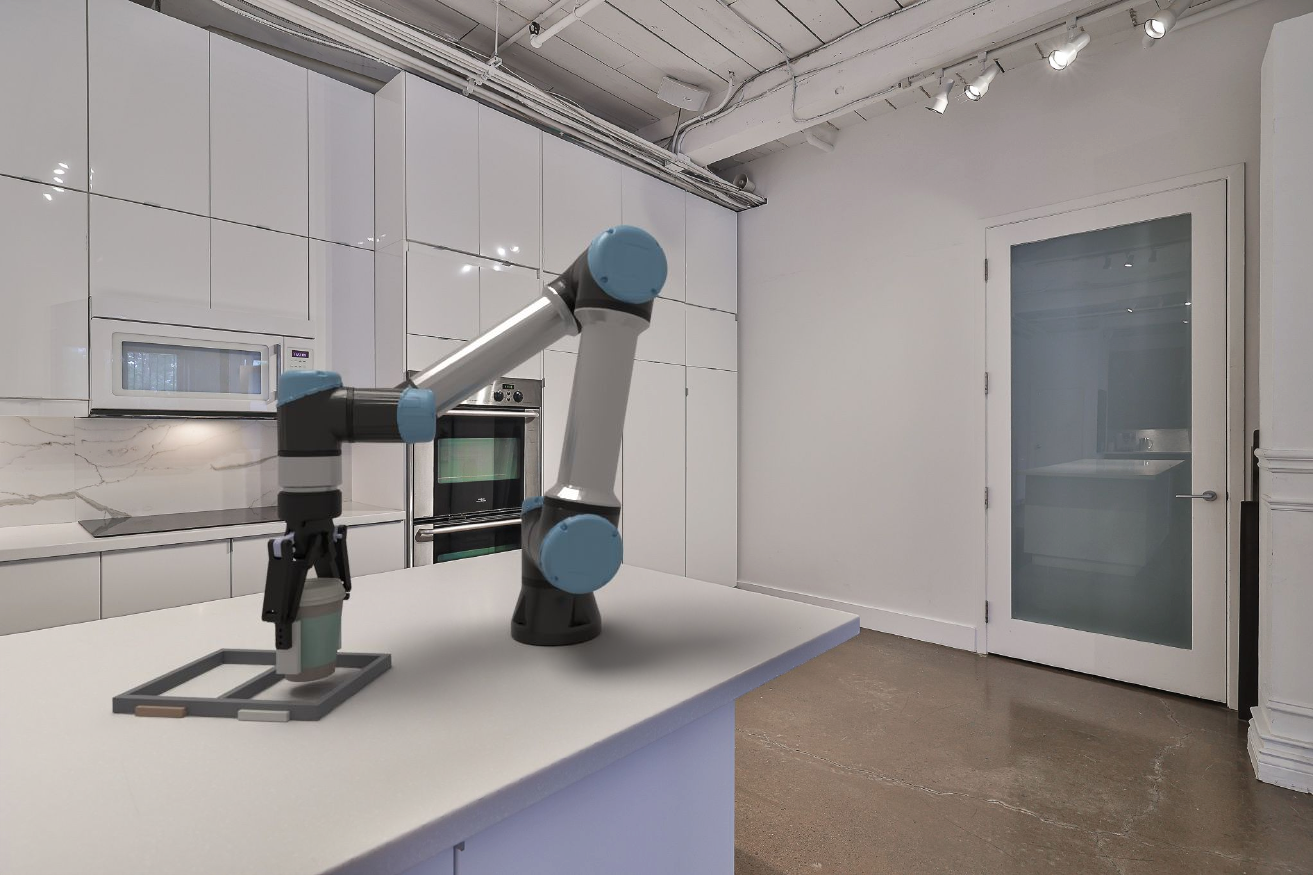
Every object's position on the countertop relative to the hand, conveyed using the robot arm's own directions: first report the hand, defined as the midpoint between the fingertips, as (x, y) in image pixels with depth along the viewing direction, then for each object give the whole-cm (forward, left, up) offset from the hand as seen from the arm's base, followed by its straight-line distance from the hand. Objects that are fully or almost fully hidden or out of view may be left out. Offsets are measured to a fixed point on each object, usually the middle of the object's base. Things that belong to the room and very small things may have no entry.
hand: (310, 660), depth 87 cm
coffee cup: (0, 0, -2) cm, 2 cm away
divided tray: (+6, 0, -4) cm, 8 cm away
